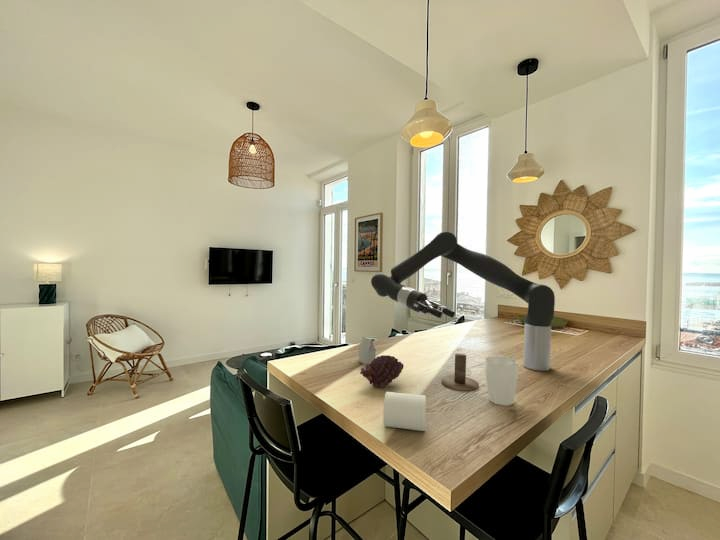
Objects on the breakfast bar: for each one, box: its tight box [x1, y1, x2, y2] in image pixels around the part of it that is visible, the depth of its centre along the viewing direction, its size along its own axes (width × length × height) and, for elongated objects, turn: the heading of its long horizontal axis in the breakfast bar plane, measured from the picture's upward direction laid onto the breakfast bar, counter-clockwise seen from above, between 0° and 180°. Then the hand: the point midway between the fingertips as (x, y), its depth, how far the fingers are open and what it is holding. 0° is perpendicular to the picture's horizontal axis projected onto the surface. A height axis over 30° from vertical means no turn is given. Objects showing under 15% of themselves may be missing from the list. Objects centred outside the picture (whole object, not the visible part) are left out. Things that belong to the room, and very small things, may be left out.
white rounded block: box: [382, 391, 427, 432], centre depth 79 cm, size 12×10×8 cm
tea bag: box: [358, 336, 377, 366], centre depth 126 cm, size 4×7×10 cm, turn 30°
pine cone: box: [359, 354, 405, 388], centre depth 103 cm, size 18×10×10 cm, turn 126°
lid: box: [441, 353, 480, 392], centre depth 106 cm, size 12×12×10 cm
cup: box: [484, 356, 519, 407], centre depth 93 cm, size 9×9×12 cm
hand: (447, 315), depth 108 cm, fingers open, 8 cm apart
